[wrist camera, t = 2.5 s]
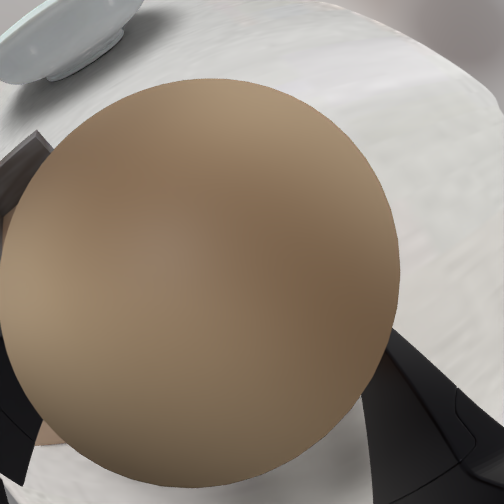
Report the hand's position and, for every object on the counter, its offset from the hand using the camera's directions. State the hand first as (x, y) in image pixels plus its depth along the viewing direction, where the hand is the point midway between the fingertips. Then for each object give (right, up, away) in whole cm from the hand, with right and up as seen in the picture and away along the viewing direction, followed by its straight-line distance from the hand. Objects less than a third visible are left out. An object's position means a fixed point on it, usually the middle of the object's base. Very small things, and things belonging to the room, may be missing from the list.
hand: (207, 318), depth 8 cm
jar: (0, -2, +8) cm, 8 cm away
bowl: (-28, +36, +23) cm, 51 cm away
